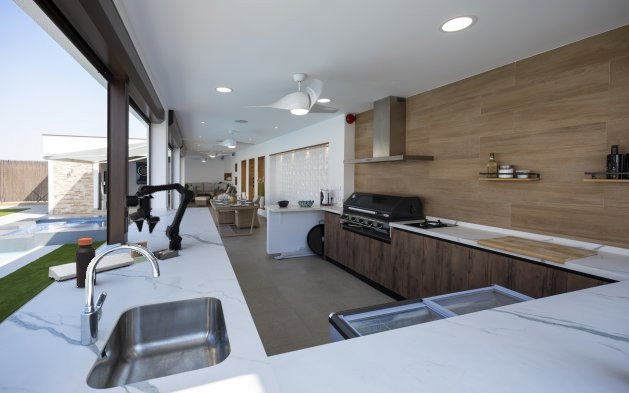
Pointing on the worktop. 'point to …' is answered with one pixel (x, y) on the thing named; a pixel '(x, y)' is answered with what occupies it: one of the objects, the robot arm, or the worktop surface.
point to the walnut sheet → (136, 254)
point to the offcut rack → (165, 256)
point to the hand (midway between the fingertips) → (145, 232)
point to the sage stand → (139, 260)
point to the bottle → (84, 260)
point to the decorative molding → (105, 264)
